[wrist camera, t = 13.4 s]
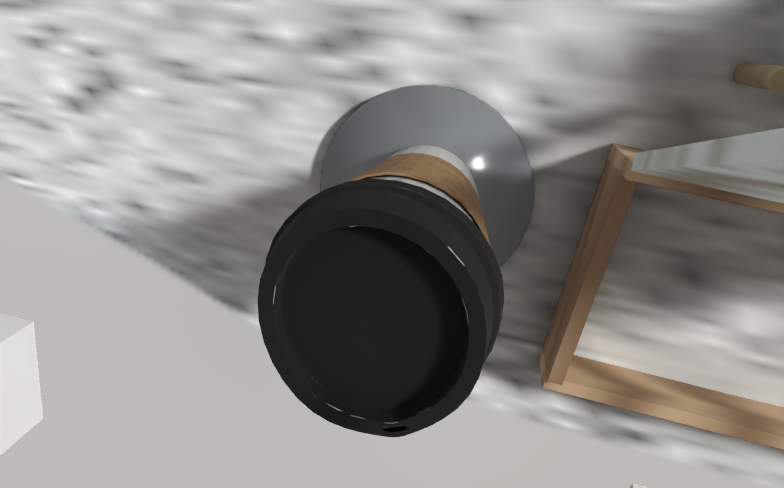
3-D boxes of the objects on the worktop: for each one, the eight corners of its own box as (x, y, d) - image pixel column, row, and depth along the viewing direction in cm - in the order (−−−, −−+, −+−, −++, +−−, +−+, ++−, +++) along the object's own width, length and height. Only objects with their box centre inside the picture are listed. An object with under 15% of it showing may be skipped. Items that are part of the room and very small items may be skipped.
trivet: (288, 214, 33) (284, 217, 32) (395, 38, 28) (393, 37, 28) (449, 323, 34) (448, 328, 33) (579, 170, 29) (581, 173, 28)
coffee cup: (373, 276, 33) (284, 454, 19) (333, 140, 30) (196, 231, 16) (513, 252, 31) (528, 433, 17) (484, 103, 28) (472, 172, 14)
